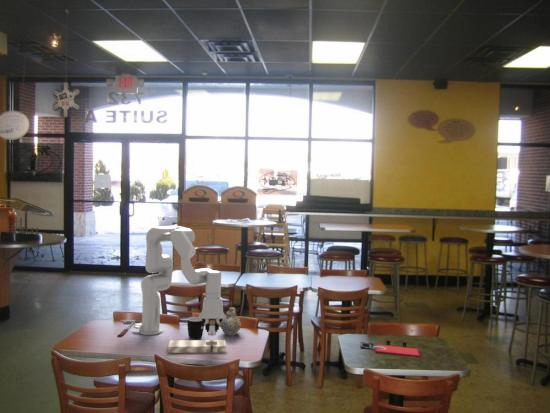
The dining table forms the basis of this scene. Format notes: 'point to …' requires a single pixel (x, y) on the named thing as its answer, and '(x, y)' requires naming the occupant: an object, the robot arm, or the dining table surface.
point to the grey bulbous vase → (231, 323)
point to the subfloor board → (196, 346)
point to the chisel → (128, 326)
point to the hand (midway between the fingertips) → (211, 331)
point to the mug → (195, 327)
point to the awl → (211, 327)
